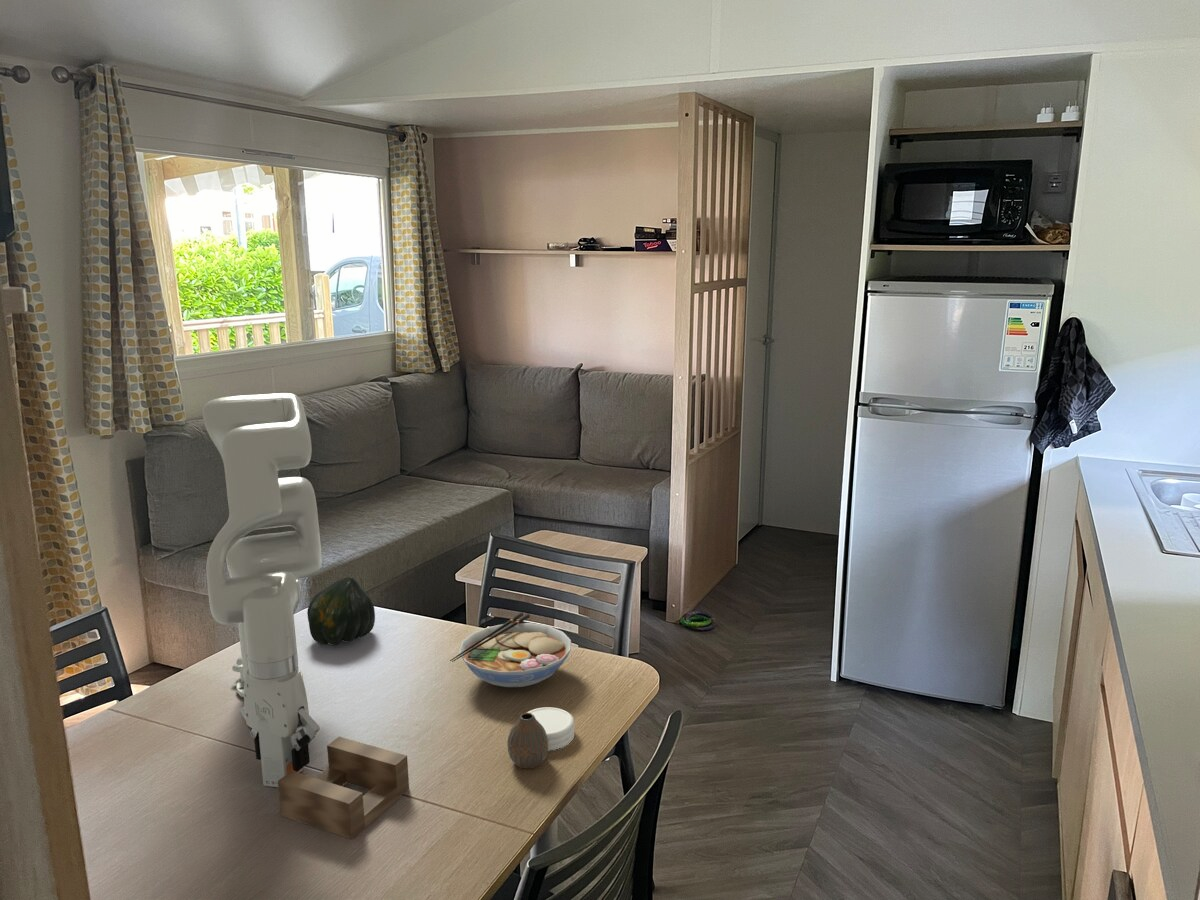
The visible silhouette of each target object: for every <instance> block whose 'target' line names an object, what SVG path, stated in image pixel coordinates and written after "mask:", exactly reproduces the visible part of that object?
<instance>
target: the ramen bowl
mask: <svg viewBox="0 0 1200 900" xmlns="http://www.w3.org/2000/svg"><path fill="white" fill-rule="evenodd" d="M530 615H531V614H528V613H527V614H526V615H525V614H524V612H519V613H518V614H515V616H513V617H512V618H510V619H509V620H507V621H506V622H504V623H502V624H497V625H493V626H487V627H485V628H482V629H480V630H477V631H475V632H472V633H470V635H469V636H467V637H466V638H464V640H462V641H461V643H460V647H459V650H458V653H459V654H457V655H456V656H454V657H453V658H452V659H449V662H452V663H454V662H455V661H456V660H458V659H460V658H462V660H463V662H464V663H465V665H466V666H467V667H468V668H469V670H470V671H471V672H472V673H473V674H474V675H475V676H476V677H477V678H479V679H481V680H482V681H484V682H486V683H488V684H491V685H494V686H498V687H504V688H523V687H528V686H532V685H536V684H538V683H541V682H542V681H545V680H547V679H548V678H550V677H552V675H554V674H555V673H556V672H557V670H558V669H559V668H560V667H562V665H563V663H564V662H565V661H566V659H567V658H568V657H569V655H570V652H571V649H572V640H571V639H570V637H569V636H568V635H567V634H566V633H565V632H564V631H562V630H560V629H558V628H556V627H553V626H550V625H547V624H539V623H534V622H532V623H531V622H524V621H526V620H527V619H529V618H530Z"/></svg>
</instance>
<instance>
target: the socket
mask: <svg viewBox="0 0 1200 900" xmlns="http://www.w3.org/2000/svg"><path fill="white" fill-rule="evenodd" d="M326 750H327V751H326V752H327V763H328V767H326V768H325V769H324V770H322V772H321V773H320V772H319V774H318V775H317V776H315V777H314V776H309V775H307V774H303V773H301V772H300V773H297V772H294V771H291V772H289V773H288V774H287V775H285V776H284V777H283V778H281V779H280V780H278V787H277V788H278V795H279V796H278V798H279V806H280V809H279V810H280V815H281V816H283V817H286V818H287V819H291V820H294V821H296V822H300V823H303V824H306V825H309V826H311V827H315V828H318V829H321V830H323V831H326V832H329V833H333V834H335V835H339V836H342V837H345V838H347V839H350V840H353V839H354V838H356V836H358V835H359V834H360V833H361V832H362V831H363V830H365V828H366V827H367V826H369V825H371V823H373V821H375V819H377V818H378V817H379V816H380V815H382V814H383V813H384V812H385V811H386V810H387V809H388V808H389V807H390V806H391V805H392V804H394V803H395V802H397V800H398V799H399V798H400V797H402V795H404V794H405V793H406V792H407V791H409V789H410V781H409V780H410V779H409V763H408V755H407V754H406V755H405V754H402V753H399V752H395V751H392V750H388V749H384V748H382V747H377V746H374V745H372V744H371V745H370V744H367V743H364V742H360V741H356V740H353V739H349V738H345V737H343V736H342V737H341V736H338V737H336V738H335V739H334V740H332V741H331V742H330V743H328V744H327V745H326ZM346 784H349V785H353V786H356V787H358V788H363V789H365V790H368V791H367V792H366V793H365V794H363V792H361V791H358V790H354V789H351V788H348V787H346V786H345V787H344V785H346Z"/></svg>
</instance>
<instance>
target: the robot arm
mask: <svg viewBox="0 0 1200 900" xmlns="http://www.w3.org/2000/svg"><path fill="white" fill-rule="evenodd" d="M202 421H203V423H204V426H205V429H206V432H207V433H208V435H209V437H210V439H211V441H212V443H213V444H214V446H215V448H216V449H217V451H218V452H219V454H220V457H221V459H222V463H223V467H224V475H225V476H224V477H225V484H226V485H225V486H226V495H227V503H228V504H227V506H228V511H229V512H228V513H229V514H228V518H227V521H226V522H225V524H224V525H223V526H222V528H221V529H220V530H219V532H218V533H217V534H216V535H215V537H214V539H213V541H212V543H211V545H210V547H209V551H208V553H207V558H206V581H207V582H206V583H207V593H208V602H209V608H210V613H211V615H212V618H213V619H214V621H216V622H217V623H219V624H221V625H236V624H237V625H238V633H239V635H238V637H239V645H240V655H241V656H239V657H238V658H237V659H236V664H233V666H232V667H231V668H232V669H231V670H232V672H236V673H240V675H239V676H240V679H239V680H238V681H237V683H236V686H235V687H236V693H237V695H238V694H239V695H238V696H240V697H241V698H243V702H244V703H243V704H244V705H243V706H242V707H240V708H239V714H241V716H242V717H243V719H244V720H245V721H244V722H245V724H246V726H247V727H248V729H249V730H250V736H251V737H252V738H254V739H253V741H254V749H255V751H254V752H255V759H256V760H257V761H261V753H260V742H259V732H258V720H259V719H261V720H264V721H269V722H268V724H269V729H270V734H273V735H276V736H280V737H284V738H289V739H290V741H291V743H292V745H293V747H294V748H293V749H292V750H291V754H292V764H293V770H294V771H296V772H297V771H299V770H300V769H302V768H303V767H304V768H305V767H306V766H307V765H308V764H309V763H310V762H311V761H310V750H309V744H310V743H312V742H311V741H312V740H314V738H315V737H316V735H317V733H319V731H320V729H321V727H320V725H319V724H318V723H317V722H316V721H315V720H314V719H313V718H312V716H311V715H310V713H309V712H310V711H309V705H308V704H309V702H308V697H307V690H306V687H305V681H304V678H303V673H302V671H301V670H300V669H299V660H298V659H299V658H298V650H297V648H298V647H297V638H296V626H295V616H294V615H295V613H296V612H297V608H298V606H299V604H301V601H302V586H301V581H300V580H299V579H306V578H309V577H313V576H315V575H316V574H318V573H319V572H320V570H321V568H322V562H323V560H322V546H321V536H320V535H321V534H320V525H319V515H318V507H317V498H316V494H315V493H316V492H315V490H314V487H313V484H312V483H311V481H309V479H307V478H305V477H301V476H287V477H279V474H278V472H279V471H282V470H283V471H284V470H294V469H302V468H305V467H306V466H308V465H309V464H310V461H311V459H312V451H313V450H312V449H313V448H312V438H311V432H310V427H309V424H308V419H307V415H306V411H305V406H304V403H303V401H302V399H301V398H300V396H298V395H297V394H295V393H290V392H279V393H278V392H277V393H263V394H244V395H232V396H231V395H230V396H222V397H219V398H215V399H211V400H209V401H208V402H206V403H205V404H204V405H203V408H202ZM281 527H283V528H284V527H292V528H294V529H295V530H290V531H283V532H275V533H274V532H272V533H270V532H269V533H265V534H264V533H262V534H255V535H248V534H250V533H253V531H256V530H266V529H273V528H281ZM246 535H248V536H246ZM225 563H226V565H227V570H228V574H229V577H230V578H226V576H225ZM298 731H299V733H300V734H301V739H300V740H298V738H297V736H296V734H295V733H297V732H298Z"/></svg>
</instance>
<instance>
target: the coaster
mask: <svg viewBox="0 0 1200 900" xmlns="http://www.w3.org/2000/svg"><path fill="white" fill-rule="evenodd" d="M526 713H532V714H533V715H534V717H535V718H536V720H537V721H538V722H539V723H540V724H541V725H542V726H543V727H544V729H545V731H546V734H547V738H548V750H547V752H551V751H550V750H553V751H557V750H556V749H558V750H560V749H559V748H561V749H563V748H565V747H567V746H568V745H570V744H571V743H572V742H573V740H574V738H575V719H574V717H573V715H572V714H571V713H570V712H568V711H566V710H564V709H562V708H558V707H550V706H548V707H547V706H544V707H537V708H534V709H531V710H529V711H526ZM571 741H572V742H571ZM570 742H571V743H570ZM569 743H570V744H569ZM566 745H567V746H566ZM564 746H565V747H564ZM562 747H563V748H562Z"/></svg>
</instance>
